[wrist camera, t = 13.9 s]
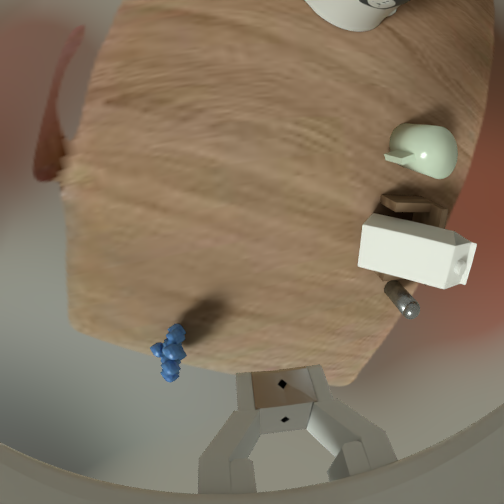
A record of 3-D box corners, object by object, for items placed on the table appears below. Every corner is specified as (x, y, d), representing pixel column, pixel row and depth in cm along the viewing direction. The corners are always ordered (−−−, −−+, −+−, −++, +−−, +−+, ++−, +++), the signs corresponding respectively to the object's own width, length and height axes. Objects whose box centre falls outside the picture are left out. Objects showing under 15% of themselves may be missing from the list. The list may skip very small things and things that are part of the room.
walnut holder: (381, 194, 43) (406, 208, 36) (421, 196, 44) (448, 209, 37) (371, 267, 49) (390, 290, 42) (409, 264, 50) (430, 284, 43)
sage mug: (371, 132, 39) (402, 135, 31) (418, 119, 38) (452, 122, 30) (383, 177, 42) (413, 190, 34) (428, 161, 41) (460, 171, 33)
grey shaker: (386, 280, 51) (410, 308, 42) (400, 278, 51) (425, 305, 42) (382, 295, 53) (405, 324, 44) (396, 293, 53) (420, 321, 44)
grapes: (158, 303, 49) (143, 348, 38) (194, 310, 50) (187, 357, 39) (154, 347, 53) (143, 391, 42) (185, 353, 54) (180, 399, 44)
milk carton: (372, 212, 45) (474, 236, 34) (367, 250, 48) (464, 275, 37) (361, 224, 40) (479, 252, 29) (356, 266, 43) (466, 295, 32)
